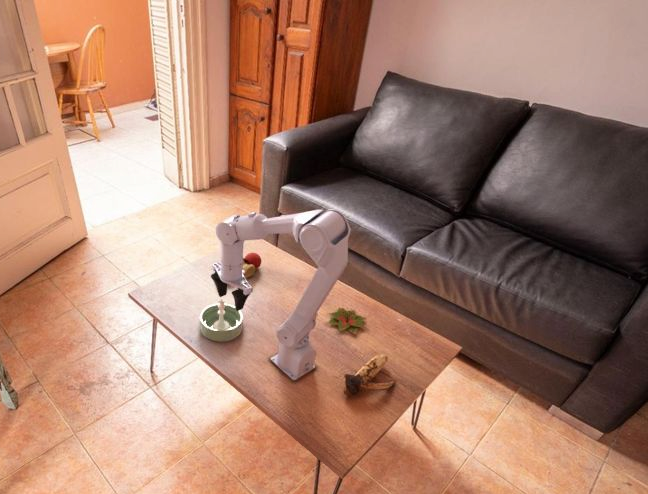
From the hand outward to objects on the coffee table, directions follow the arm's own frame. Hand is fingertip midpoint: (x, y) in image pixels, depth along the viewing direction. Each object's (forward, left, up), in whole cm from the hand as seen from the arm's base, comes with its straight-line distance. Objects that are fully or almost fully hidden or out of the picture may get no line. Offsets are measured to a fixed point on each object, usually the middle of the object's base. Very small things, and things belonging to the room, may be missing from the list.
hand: (230, 302), depth 119 cm
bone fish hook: (-38, -17, -10) cm, 43 cm away
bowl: (+2, +2, -10) cm, 10 cm away
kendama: (+20, -19, -10) cm, 29 cm away
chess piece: (+2, +2, -10) cm, 10 cm away
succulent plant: (-18, -30, -10) cm, 37 cm away
